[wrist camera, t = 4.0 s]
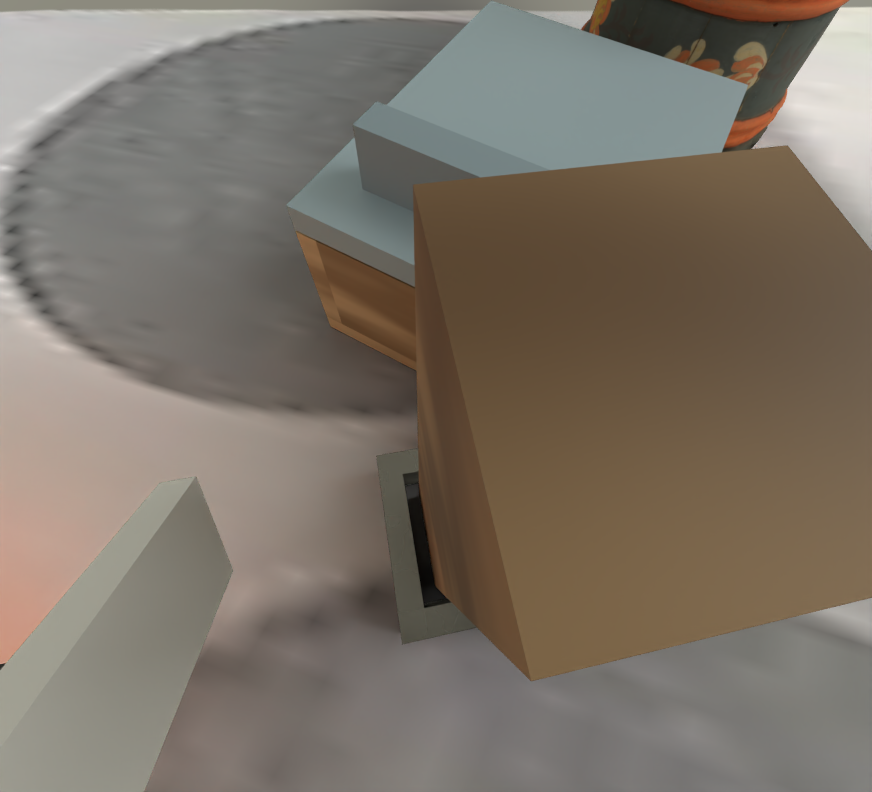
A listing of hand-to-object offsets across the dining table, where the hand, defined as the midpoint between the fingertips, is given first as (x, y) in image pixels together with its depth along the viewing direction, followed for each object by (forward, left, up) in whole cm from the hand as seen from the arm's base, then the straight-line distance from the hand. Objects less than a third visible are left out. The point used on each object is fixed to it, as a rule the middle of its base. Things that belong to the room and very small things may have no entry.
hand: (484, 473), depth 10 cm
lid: (-15, -4, -3) cm, 16 cm away
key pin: (0, +1, -10) cm, 10 cm away
